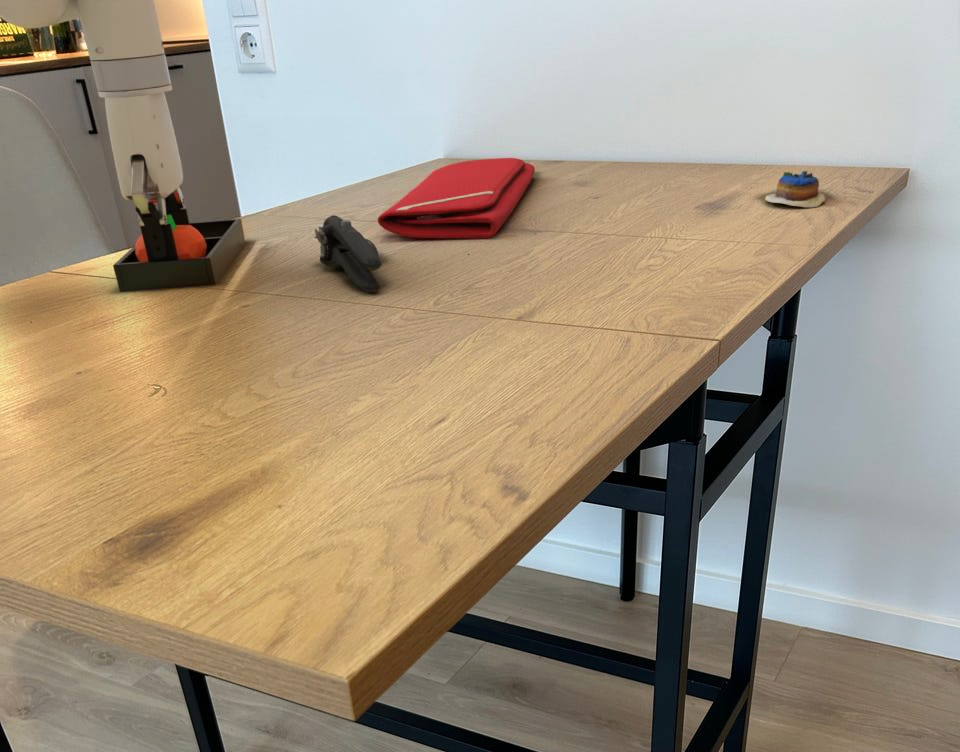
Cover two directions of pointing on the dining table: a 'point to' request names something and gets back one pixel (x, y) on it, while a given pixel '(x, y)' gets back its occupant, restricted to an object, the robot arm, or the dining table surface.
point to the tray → (185, 261)
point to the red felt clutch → (461, 200)
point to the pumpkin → (178, 242)
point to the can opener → (349, 252)
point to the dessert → (797, 190)
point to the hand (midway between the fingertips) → (172, 253)
